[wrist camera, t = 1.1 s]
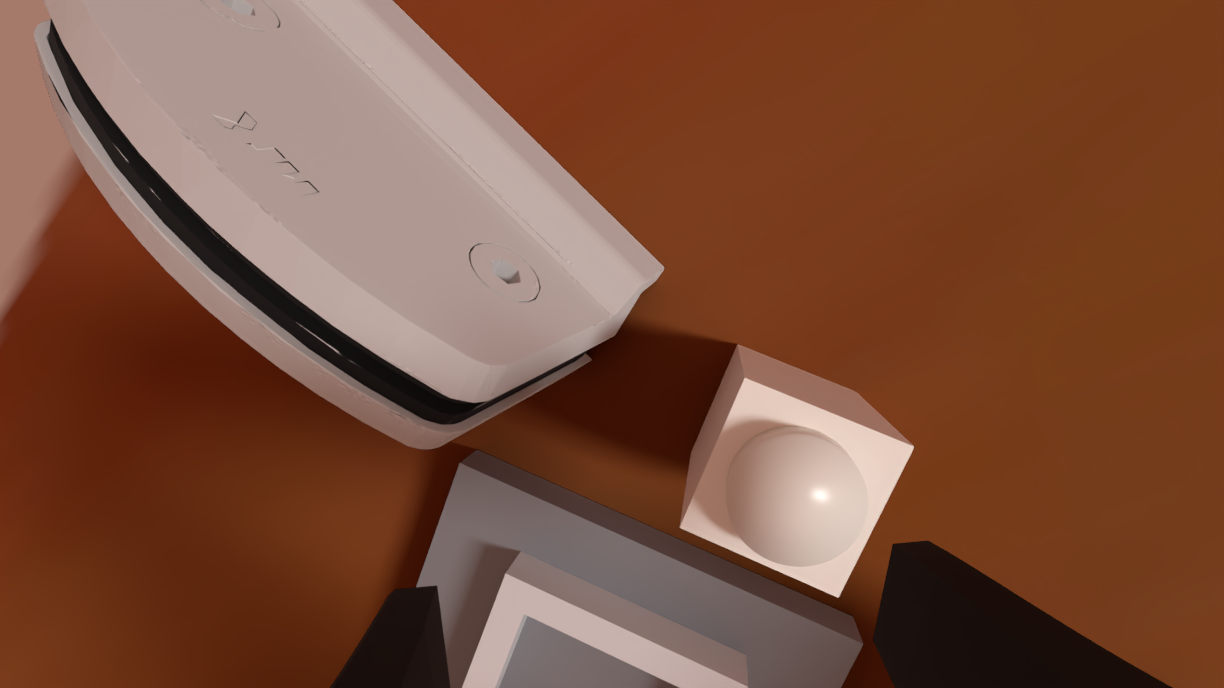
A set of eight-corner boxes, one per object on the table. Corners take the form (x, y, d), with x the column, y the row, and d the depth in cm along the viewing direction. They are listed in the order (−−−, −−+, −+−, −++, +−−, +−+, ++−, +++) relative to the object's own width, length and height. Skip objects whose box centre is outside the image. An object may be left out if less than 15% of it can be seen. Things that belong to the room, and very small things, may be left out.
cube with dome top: (855, 391, 19) (926, 457, 13) (803, 500, 20) (845, 617, 14) (737, 344, 20) (746, 384, 13) (690, 452, 21) (677, 542, 14)
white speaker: (673, 276, 20) (509, 416, 11) (591, 363, 22) (407, 531, 14) (318, -73, 20) (-89, -184, 12) (277, 50, 23) (-84, 29, 15)
